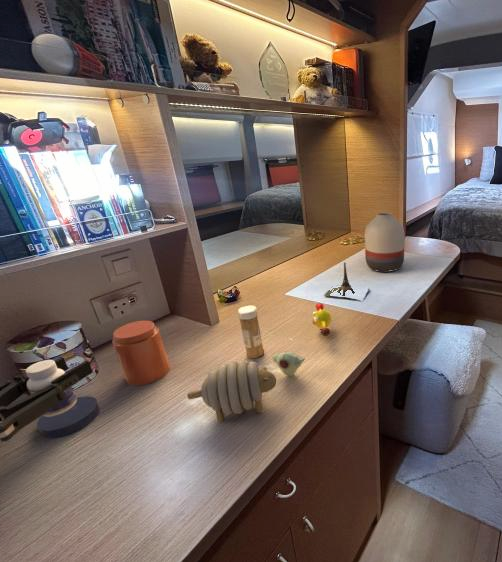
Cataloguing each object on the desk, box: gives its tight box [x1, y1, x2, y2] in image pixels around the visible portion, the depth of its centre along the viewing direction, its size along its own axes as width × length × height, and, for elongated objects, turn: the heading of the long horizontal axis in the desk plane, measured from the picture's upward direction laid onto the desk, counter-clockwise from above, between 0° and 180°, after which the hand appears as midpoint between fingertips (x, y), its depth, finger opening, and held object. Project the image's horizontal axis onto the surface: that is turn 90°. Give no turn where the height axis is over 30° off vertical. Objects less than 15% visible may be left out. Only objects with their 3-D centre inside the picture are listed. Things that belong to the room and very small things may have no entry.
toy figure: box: [311, 302, 332, 337], centre depth 99 cm, size 18×6×7 cm, turn 14°
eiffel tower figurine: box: [323, 259, 355, 297], centre depth 122 cm, size 15×10×13 cm
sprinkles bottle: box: [237, 305, 265, 359], centre depth 88 cm, size 5×4×13 cm
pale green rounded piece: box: [272, 351, 306, 376], centre depth 80 cm, size 8×4×7 cm, turn 78°
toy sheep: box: [187, 360, 277, 423], centre depth 69 cm, size 11×17×11 cm, turn 112°
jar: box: [111, 320, 171, 386], centre depth 81 cm, size 9×9×13 cm
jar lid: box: [36, 395, 101, 439], centre depth 70 cm, size 10×10×2 cm
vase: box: [364, 212, 406, 272], centre depth 145 cm, size 17×17×24 cm
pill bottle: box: [25, 359, 77, 417], centre depth 64 cm, size 5×5×10 cm
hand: (76, 364), depth 68 cm, fingers closed on pill bottle, 5 cm apart
